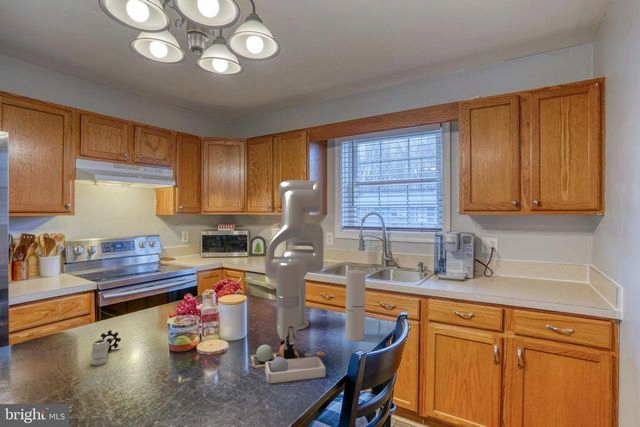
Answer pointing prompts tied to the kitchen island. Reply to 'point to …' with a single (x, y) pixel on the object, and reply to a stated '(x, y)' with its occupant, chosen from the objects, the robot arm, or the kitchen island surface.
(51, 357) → the kitchen island surface
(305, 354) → the card
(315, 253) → the robot arm
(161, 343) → the kitchen island surface
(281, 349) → the ball terracotta
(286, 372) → the trough
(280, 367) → the ball slate
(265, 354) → the ball sage
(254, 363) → the tray
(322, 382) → the kitchen island surface
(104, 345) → the valve
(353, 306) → the cylindrical container
